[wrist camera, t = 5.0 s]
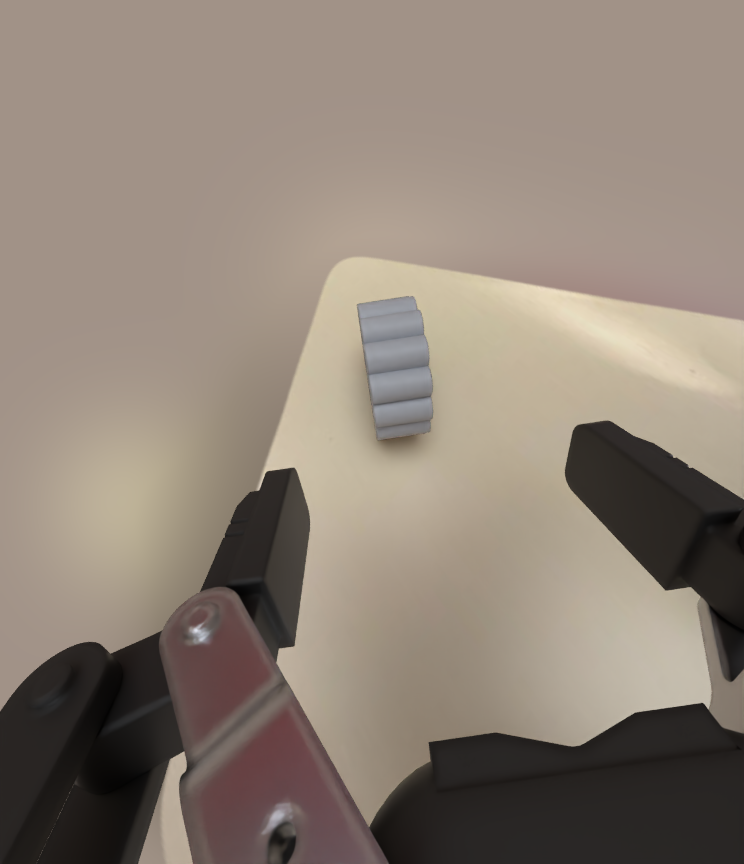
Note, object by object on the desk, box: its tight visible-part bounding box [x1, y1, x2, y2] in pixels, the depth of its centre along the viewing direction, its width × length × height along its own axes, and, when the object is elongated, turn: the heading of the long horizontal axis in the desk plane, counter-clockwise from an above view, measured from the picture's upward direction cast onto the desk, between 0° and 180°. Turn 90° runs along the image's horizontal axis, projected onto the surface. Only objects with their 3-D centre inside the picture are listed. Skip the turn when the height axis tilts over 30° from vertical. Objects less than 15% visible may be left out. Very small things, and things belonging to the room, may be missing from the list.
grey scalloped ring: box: [357, 296, 433, 440], centre depth 19 cm, size 3×8×8 cm, turn 8°
